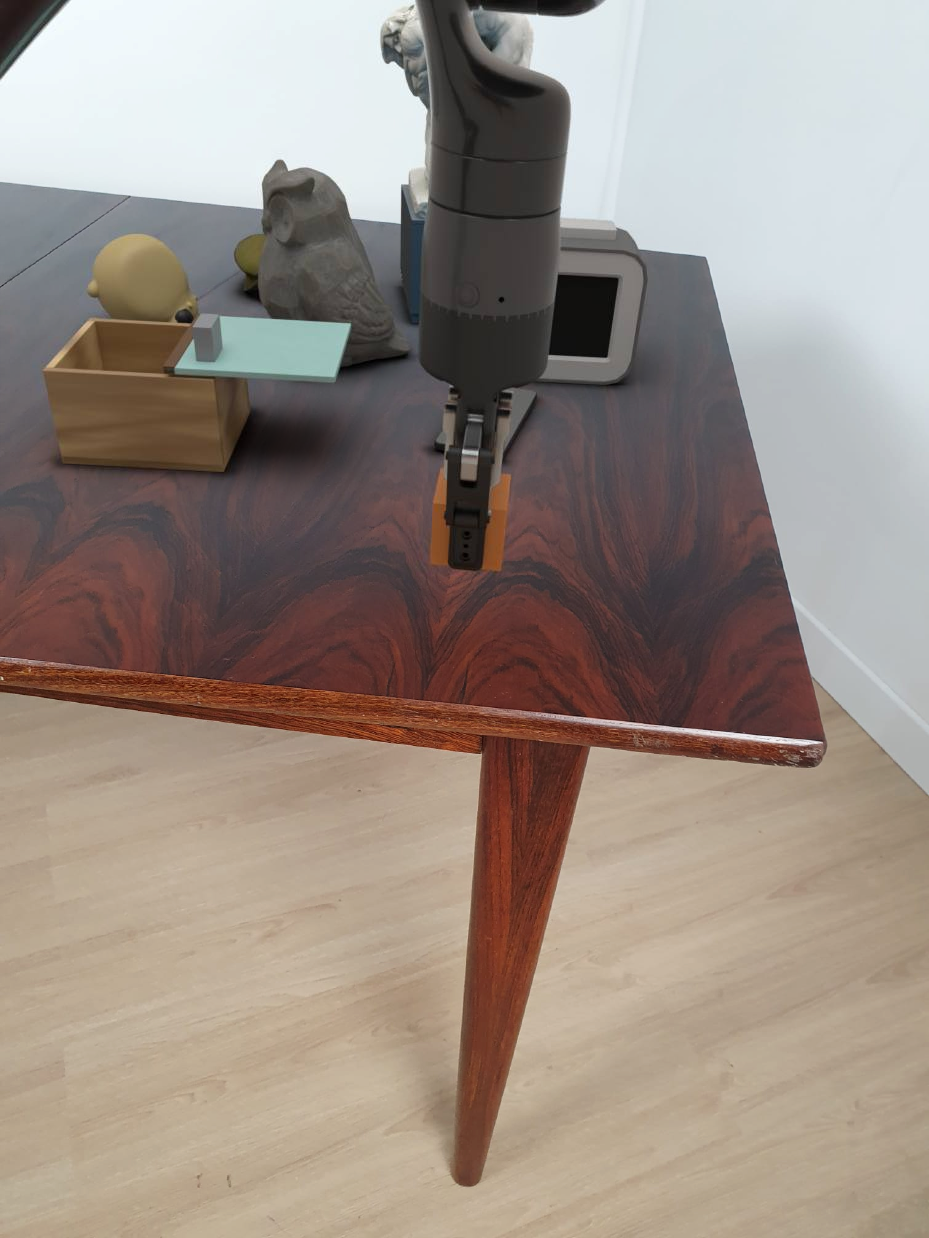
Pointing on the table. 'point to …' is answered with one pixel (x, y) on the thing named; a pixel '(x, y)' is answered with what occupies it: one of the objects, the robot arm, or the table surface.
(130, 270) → the toy pig
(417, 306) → the sculpture
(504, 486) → the block
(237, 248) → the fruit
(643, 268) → the alarm clock
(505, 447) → the smartphone
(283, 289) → the figurine
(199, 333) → the mint sliding box lid
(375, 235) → the table surface
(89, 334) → the maple box
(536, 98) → the robot arm
